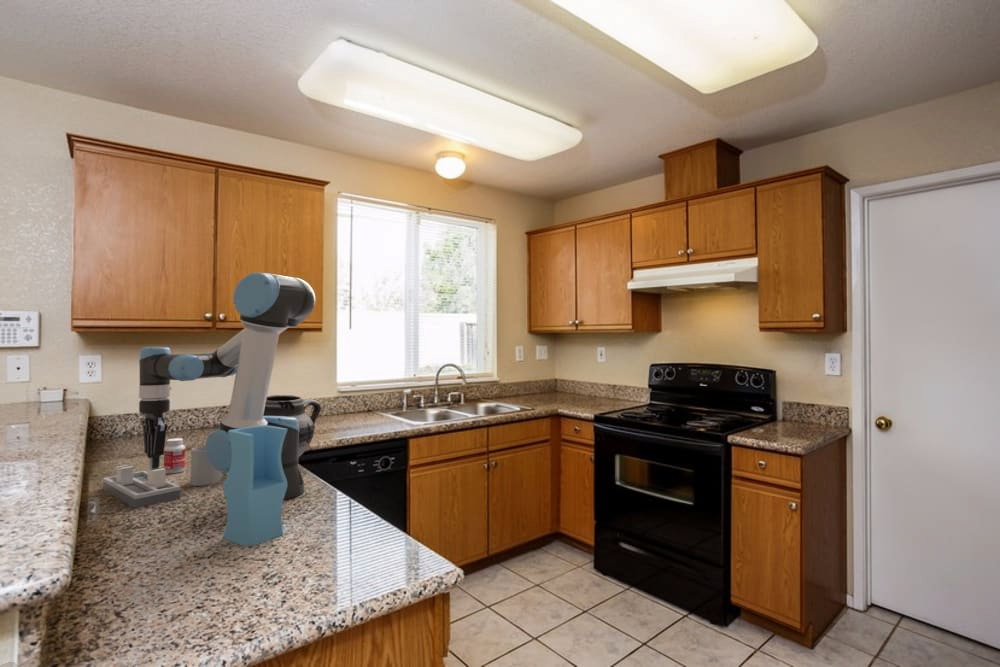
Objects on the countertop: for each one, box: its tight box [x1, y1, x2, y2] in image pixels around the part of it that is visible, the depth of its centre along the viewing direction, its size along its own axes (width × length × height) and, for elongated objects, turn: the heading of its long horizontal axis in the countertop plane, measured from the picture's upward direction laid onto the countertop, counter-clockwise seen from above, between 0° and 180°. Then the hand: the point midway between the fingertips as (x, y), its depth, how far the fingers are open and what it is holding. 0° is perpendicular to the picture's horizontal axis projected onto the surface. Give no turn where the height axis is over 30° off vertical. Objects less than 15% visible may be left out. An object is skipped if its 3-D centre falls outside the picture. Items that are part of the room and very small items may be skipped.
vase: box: [222, 425, 287, 547], centre depth 120 cm, size 10×10×25 cm
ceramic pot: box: [263, 394, 322, 458], centre depth 184 cm, size 29×23×25 cm
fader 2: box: [149, 466, 167, 488], centre depth 149 cm, size 4×3×5 cm
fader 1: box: [115, 464, 134, 486], centre depth 151 cm, size 4×3×5 cm
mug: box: [189, 445, 222, 487], centre depth 164 cm, size 12×8×11 cm
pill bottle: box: [163, 437, 186, 475], centre depth 174 cm, size 6×6×11 cm
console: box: [102, 470, 181, 509], centre depth 150 cm, size 27×11×3 cm, turn 53°
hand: (153, 478), depth 151 cm, fingers closed
